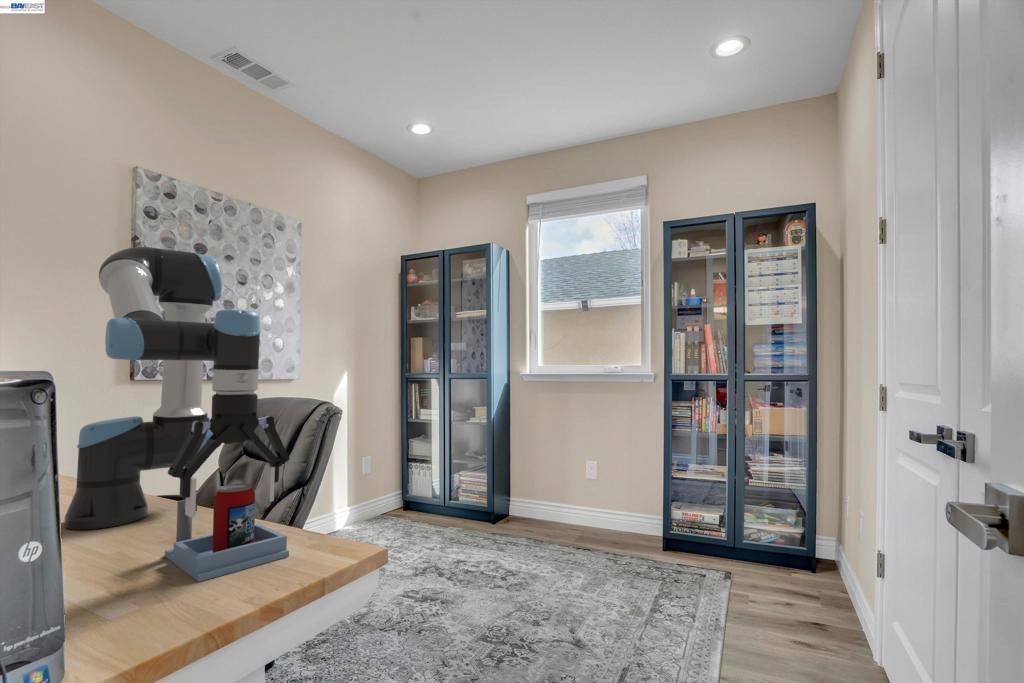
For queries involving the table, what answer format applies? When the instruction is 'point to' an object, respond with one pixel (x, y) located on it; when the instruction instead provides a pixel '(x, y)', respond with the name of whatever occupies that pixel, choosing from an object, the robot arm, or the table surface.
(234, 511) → the beverage can
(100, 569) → the table surface
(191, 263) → the robot arm
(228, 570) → the light blue hollow tray
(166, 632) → the table surface
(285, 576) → the table surface
